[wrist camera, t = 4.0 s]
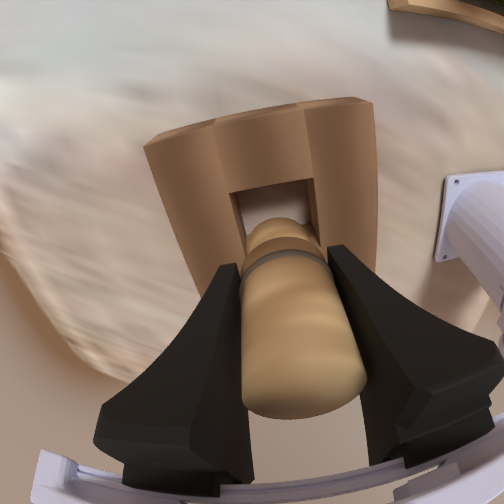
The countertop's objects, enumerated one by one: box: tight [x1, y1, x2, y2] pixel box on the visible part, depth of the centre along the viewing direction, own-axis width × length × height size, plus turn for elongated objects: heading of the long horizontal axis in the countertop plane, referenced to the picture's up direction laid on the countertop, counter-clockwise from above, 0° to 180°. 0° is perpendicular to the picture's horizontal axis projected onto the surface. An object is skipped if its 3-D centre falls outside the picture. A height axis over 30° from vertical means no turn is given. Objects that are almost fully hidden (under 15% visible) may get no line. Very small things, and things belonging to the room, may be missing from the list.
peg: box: [239, 218, 367, 420], centre depth 10 cm, size 3×3×7 cm
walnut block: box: [143, 97, 378, 298], centre depth 18 cm, size 12×12×3 cm
